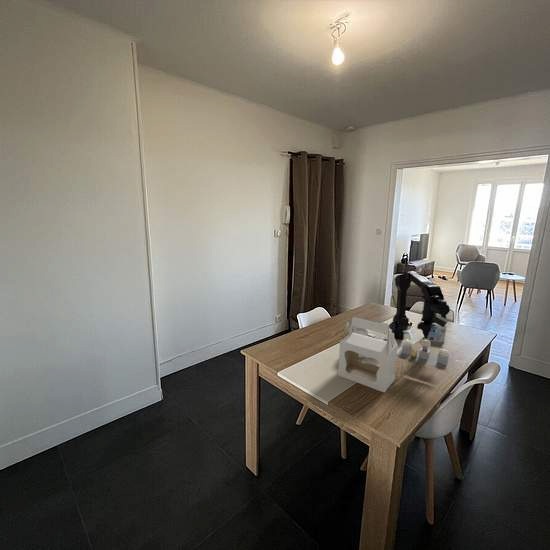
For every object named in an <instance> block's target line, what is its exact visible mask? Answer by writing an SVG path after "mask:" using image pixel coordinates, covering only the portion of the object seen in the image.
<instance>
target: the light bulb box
mask: <svg viewBox="0 0 550 550" xmlns="http://www.w3.org/2000/svg"><path fill="white" fill-rule="evenodd" d="M432 324H433V323H432ZM434 325H435V326H434V328H433V329H432V331H430V332H429V335H428V338H425V337H424V340H428V341H430V342H431V341H433V342H439V343H443V342H444V343H445V341H446V333H447V324H446V325H445V326H444V327H441V326H440V325H438V324H437V323H435V322H434Z"/></svg>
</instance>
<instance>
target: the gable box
mask: <svg viewBox="0 0 550 550" xmlns="http://www.w3.org/2000/svg"><path fill="white" fill-rule="evenodd" d="M354 327H359V328H363V329H367V330H368V331H371V332H374V333H375V332H376V333H380V334H383V335H385V336H386V340H383V339H381V338H376V337H375V338H374V337H371V336H369V335H368V336H365V335H361V334H357V333H354ZM389 327H390V326H389V324H388V323H383V322H379V321H376V320H372V319H366V318H363V317H357V316H353V317H352V319H351V322H350V321H347V322H346V329H345V331H344V333H343V334H342V337H341V339H340V340H339V354H338V355H339V356H338V369H337V370H338V371H337V372H338V373H337V376H338V377H341V378H344V379H347V380H350V381H352V382H354V383H358V384H360V385H363V386H365V387H368V388H371V389H374V390H376V391H379V392H382V393H384V394H385V393H386V392H387V390H388V389H389V388H390V386H391V385H392V383H393V382H394V381H395V378H396V377H395V376H396V366H397V354H398V346H399V344H398V343H397V341H396V340H397V339H395V338H394V333H392V332H391V331H392V330H390V328H389ZM359 354H360V355H363V356H365V358H370V359H374V360H377V361H378V362H379V363H380V366H377V365H375V364H373V363H369V362H362V361H360V360H359V357H358V355H359Z"/></svg>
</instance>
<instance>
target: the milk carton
mask: <svg viewBox="0 0 550 550" xmlns="http://www.w3.org/2000/svg"><path fill="white" fill-rule="evenodd" d="M353 333H357V334H361V335H365V336H368V337H369V330H367V329H363V328H359V327H355V326H354V327H353ZM359 358H360V359H365V358H366V357H365V356H363V355H360V354H359V355H358V359H359Z"/></svg>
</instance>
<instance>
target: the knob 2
mask: <svg viewBox="0 0 550 550" xmlns="http://www.w3.org/2000/svg"><path fill="white" fill-rule="evenodd" d="M438 354H439V355H440V356H442V357H448V356H450V352H449V350H447V349H444V348H443V349H441V348H440V349H439V350H438ZM448 358H449V357H448Z"/></svg>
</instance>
